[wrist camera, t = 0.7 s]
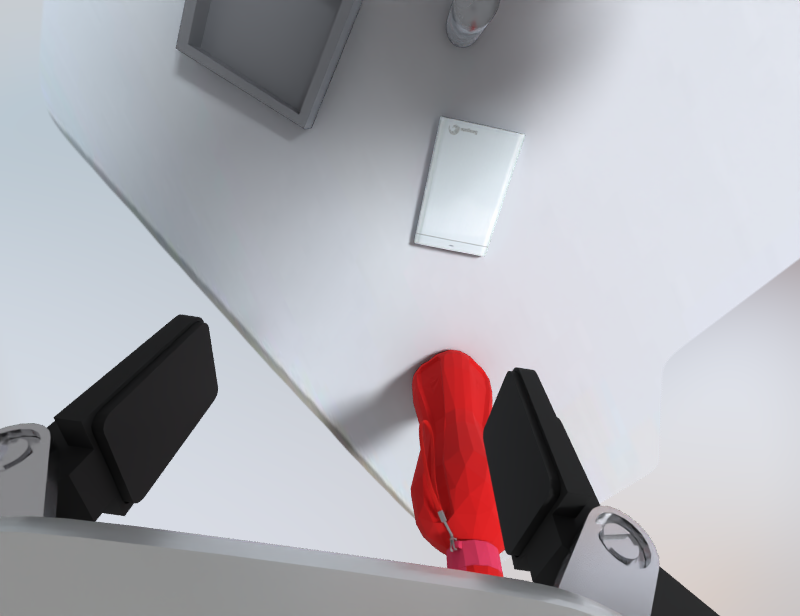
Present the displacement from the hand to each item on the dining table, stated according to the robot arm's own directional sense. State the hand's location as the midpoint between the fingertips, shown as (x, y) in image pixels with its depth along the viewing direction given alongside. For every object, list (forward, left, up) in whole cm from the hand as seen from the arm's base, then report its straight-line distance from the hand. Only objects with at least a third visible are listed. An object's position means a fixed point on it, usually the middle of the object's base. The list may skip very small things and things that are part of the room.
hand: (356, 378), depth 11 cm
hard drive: (-4, +6, -29) cm, 30 cm away
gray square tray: (-7, -16, -29) cm, 34 cm away
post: (-15, -2, -29) cm, 32 cm away
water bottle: (+17, +18, -29) cm, 38 cm away
